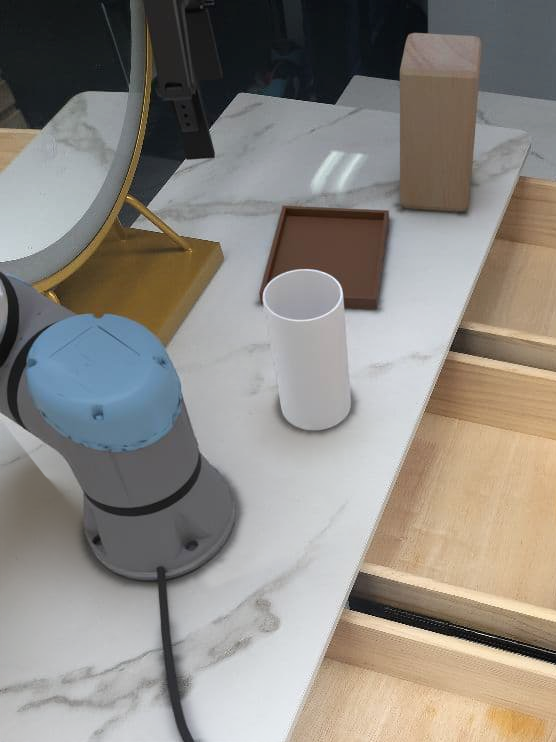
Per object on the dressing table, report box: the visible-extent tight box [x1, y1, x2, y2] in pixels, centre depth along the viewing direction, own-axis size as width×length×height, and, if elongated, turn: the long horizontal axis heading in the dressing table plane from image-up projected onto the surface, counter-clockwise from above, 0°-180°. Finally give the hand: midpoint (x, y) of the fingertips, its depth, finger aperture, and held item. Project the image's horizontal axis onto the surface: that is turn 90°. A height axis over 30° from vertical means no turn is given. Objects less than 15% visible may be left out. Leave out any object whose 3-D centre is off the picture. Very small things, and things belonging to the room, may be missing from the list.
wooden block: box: [399, 32, 483, 212], centre depth 112 cm, size 10×10×20 cm
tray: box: [259, 205, 390, 310], centre depth 111 cm, size 19×15×2 cm
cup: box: [263, 269, 352, 431], centre depth 90 cm, size 8×8×16 cm
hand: (205, 115), depth 82 cm, fingers open, 13 cm apart
